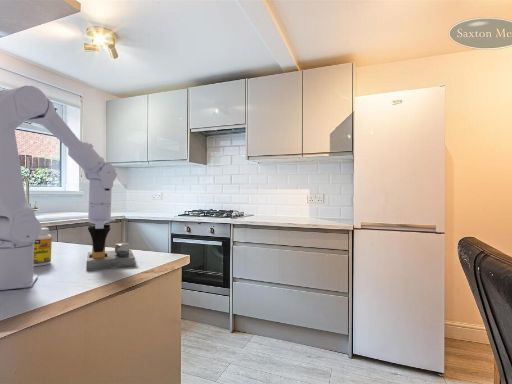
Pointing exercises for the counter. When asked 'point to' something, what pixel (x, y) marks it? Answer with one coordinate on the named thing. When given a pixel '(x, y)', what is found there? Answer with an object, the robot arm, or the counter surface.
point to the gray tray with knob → (112, 258)
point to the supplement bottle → (42, 248)
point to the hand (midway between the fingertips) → (98, 250)
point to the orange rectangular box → (98, 253)
